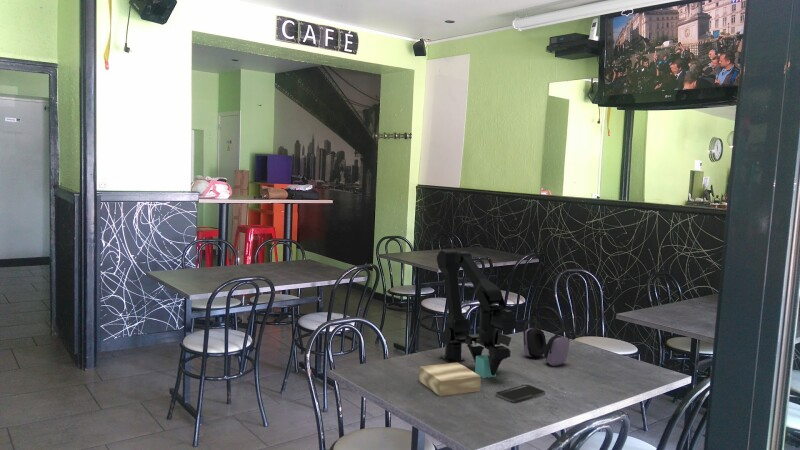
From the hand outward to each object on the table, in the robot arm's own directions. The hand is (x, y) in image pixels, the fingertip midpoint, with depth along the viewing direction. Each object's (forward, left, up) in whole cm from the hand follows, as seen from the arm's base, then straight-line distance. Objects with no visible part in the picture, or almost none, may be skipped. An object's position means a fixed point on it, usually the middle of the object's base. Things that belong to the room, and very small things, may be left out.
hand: (485, 371), depth 193 cm
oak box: (+5, -17, -2) cm, 18 cm away
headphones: (-6, +30, -2) cm, 31 cm away
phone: (+19, 0, -2) cm, 19 cm away
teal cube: (0, 0, -1) cm, 1 cm away
